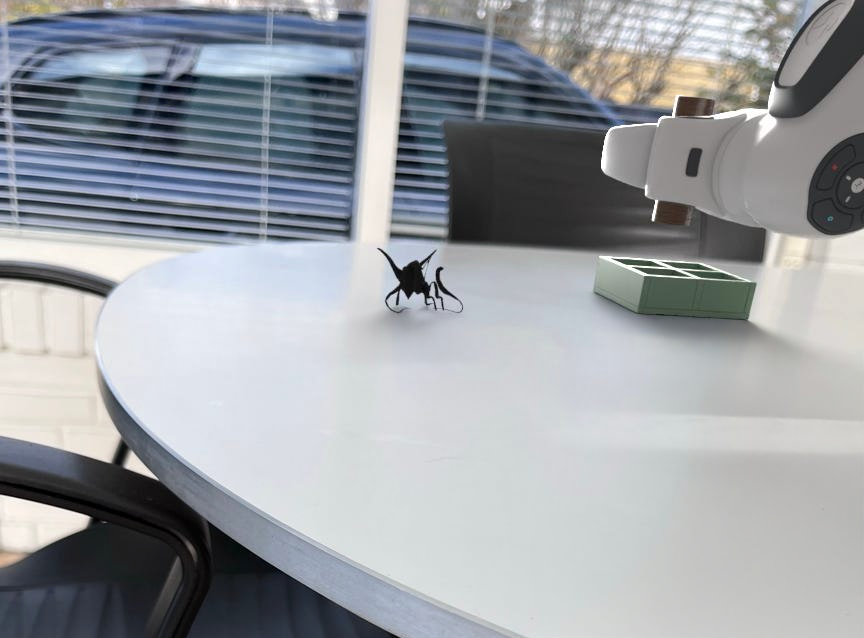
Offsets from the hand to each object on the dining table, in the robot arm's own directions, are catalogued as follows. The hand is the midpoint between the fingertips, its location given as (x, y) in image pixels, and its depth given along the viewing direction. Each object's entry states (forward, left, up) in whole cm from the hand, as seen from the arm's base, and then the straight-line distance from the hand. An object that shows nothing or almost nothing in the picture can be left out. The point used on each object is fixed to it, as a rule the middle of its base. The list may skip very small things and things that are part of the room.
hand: (679, 155), depth 102 cm
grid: (-3, -2, -14) cm, 15 cm away
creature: (+26, +8, -14) cm, 31 cm away
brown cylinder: (0, +1, -6) cm, 6 cm away
